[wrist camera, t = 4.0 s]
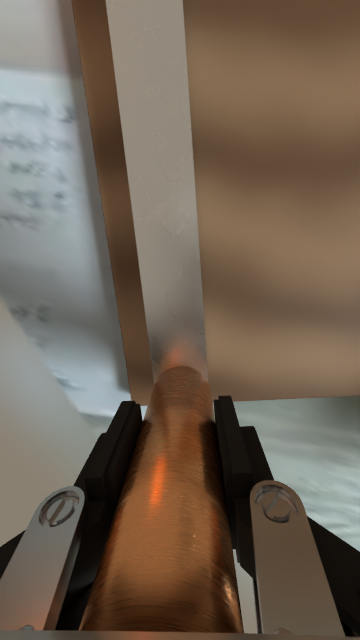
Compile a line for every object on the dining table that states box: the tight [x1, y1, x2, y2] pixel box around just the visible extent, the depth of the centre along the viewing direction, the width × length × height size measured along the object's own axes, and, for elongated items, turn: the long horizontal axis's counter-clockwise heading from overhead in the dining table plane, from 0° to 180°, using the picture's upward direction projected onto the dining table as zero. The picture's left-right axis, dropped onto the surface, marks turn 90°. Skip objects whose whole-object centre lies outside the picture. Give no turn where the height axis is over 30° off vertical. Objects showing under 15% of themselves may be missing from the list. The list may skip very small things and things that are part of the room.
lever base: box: [72, 0, 360, 406], centre depth 13 cm, size 28×20×1 cm
